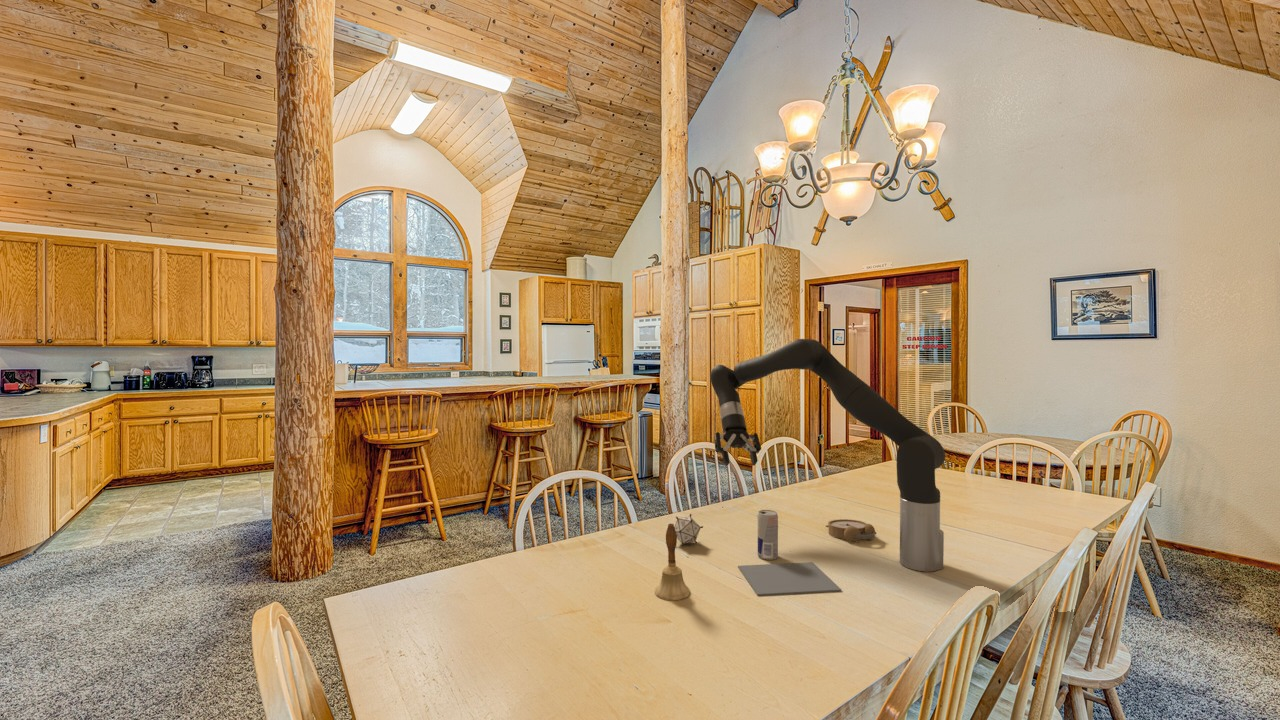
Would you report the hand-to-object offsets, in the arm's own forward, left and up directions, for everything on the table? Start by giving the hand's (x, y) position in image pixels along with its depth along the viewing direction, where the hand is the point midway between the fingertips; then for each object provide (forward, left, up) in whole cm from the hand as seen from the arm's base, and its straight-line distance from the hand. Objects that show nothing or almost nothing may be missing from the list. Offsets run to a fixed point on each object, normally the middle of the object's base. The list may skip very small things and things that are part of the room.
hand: (741, 464), depth 166 cm
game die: (+19, +9, -21) cm, 29 cm away
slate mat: (-1, +35, -21) cm, 40 cm away
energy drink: (-1, +21, -21) cm, 29 cm away
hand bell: (+28, +39, -21) cm, 52 cm away
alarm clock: (-31, +9, -21) cm, 39 cm away
